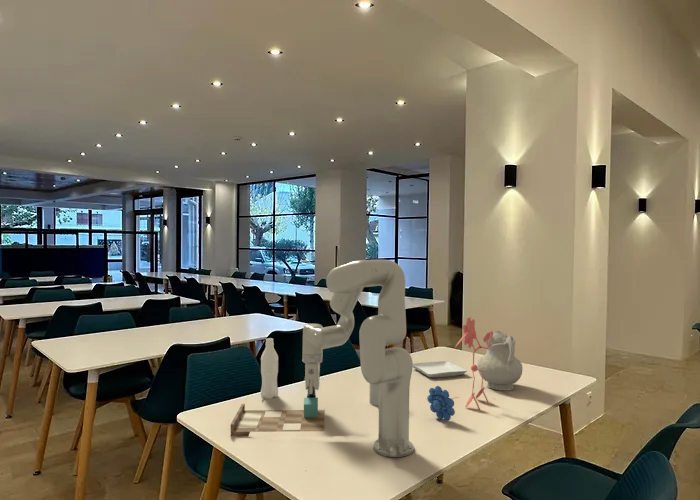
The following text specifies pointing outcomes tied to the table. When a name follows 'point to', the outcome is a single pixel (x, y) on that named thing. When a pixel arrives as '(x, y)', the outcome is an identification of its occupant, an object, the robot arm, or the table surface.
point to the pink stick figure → (469, 336)
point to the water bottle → (269, 370)
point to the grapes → (441, 403)
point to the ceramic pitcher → (500, 363)
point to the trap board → (273, 421)
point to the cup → (374, 394)
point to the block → (310, 407)
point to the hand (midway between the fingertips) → (311, 405)
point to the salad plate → (439, 369)
